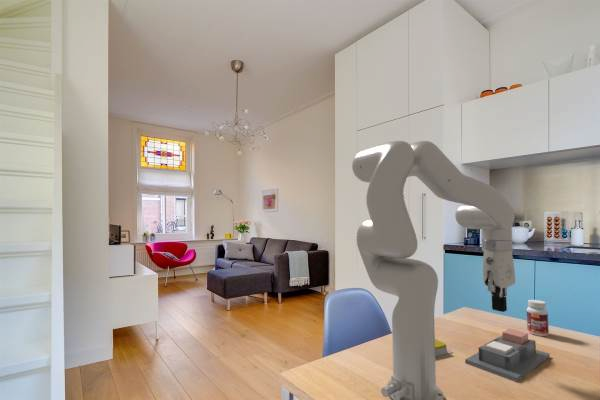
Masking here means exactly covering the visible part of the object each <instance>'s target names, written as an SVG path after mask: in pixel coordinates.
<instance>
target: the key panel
mask: <svg viewBox="0 0 600 400" xmlns="http://www.w3.org/2000/svg"><path fill="white" fill-rule="evenodd" d="M493 341H495V342H499V343H502V344H506V345H509V346H512V347H513V351H512V352H511V353H509V354H508V355H505V354H502V353H498V352H495V351H492V350H489V349H486V345H487V344H489V343H491V342H493ZM548 359H550V353H549V352H546V351H543V350H539V349H536V340H534V339H530V338H528V342H527V343H525V344H524V345H520V344H516V343H513V342H509V341H506V340H503V335H502V334H501V335H500V336H499V337H496V338H495V339H492V340H490V341H488V342H487V343H484V344H483V345H481V346H480V347H478V352H476V353H475V354H472V355H471V356H469V357H467V358H465V359H464V362H465V364H466V365H467V364H468V365H470V366H473V367H476V368H478V369H481V370H483V371H487V372H490V373H492V374H495V375H497V376H500V377H502V378H506V379H508V380H511V381H512V382H513V381H514V382H517V383H518V382H519V381H521V380H523V378H524V377H526V376H527V375H528V374H530V373H531V372H532V371H534V370H535V369H536V368H537V367H538V366H540V365H541V364H542V363H543V362H545V361H546V360H548Z"/></svg>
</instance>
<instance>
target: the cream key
mask: <svg viewBox="0 0 600 400" xmlns="http://www.w3.org/2000/svg"><path fill="white" fill-rule="evenodd" d="M488 343H489V342H488ZM486 344H487V343H486ZM486 349H489V350H492V351H495V352H498V353H502V354H505V355H508V354H509V353H511V352H512V351H513V347H512V346H509V345H506V344H502V343H499V342H495V341H493V342H491V343H489V344H487V345H486Z"/></svg>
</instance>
